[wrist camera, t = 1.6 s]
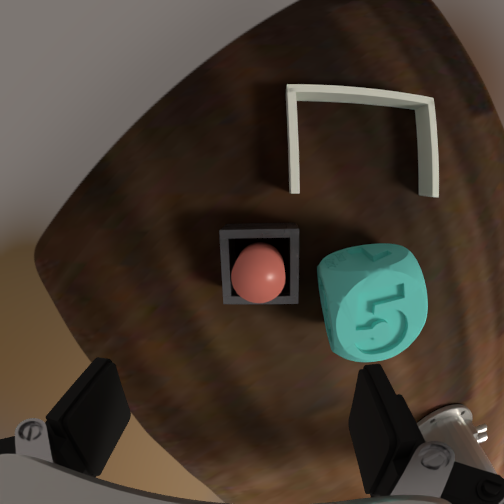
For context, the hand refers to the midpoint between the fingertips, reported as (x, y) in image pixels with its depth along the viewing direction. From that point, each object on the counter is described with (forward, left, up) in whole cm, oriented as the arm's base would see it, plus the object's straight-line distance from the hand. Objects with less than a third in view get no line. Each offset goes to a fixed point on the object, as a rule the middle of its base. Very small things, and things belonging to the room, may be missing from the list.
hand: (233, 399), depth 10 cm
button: (0, -1, -16) cm, 16 cm away
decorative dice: (-10, +2, -20) cm, 22 cm away
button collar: (0, -1, -19) cm, 19 cm away
